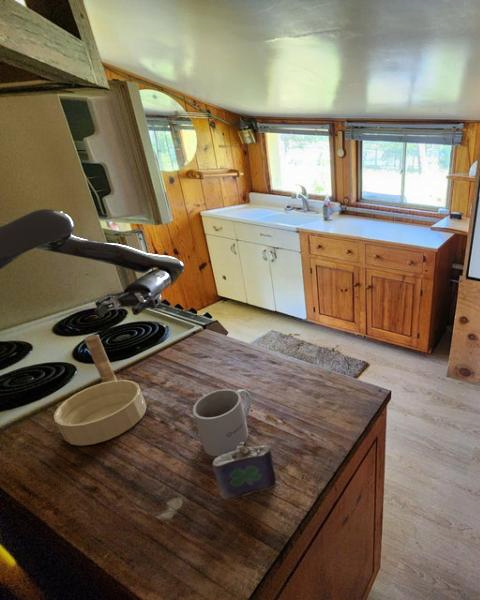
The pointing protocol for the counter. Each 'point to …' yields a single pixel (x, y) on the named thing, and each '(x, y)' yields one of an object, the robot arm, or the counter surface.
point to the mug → (222, 420)
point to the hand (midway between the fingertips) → (115, 312)
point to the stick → (100, 358)
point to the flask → (244, 471)
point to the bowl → (100, 412)
